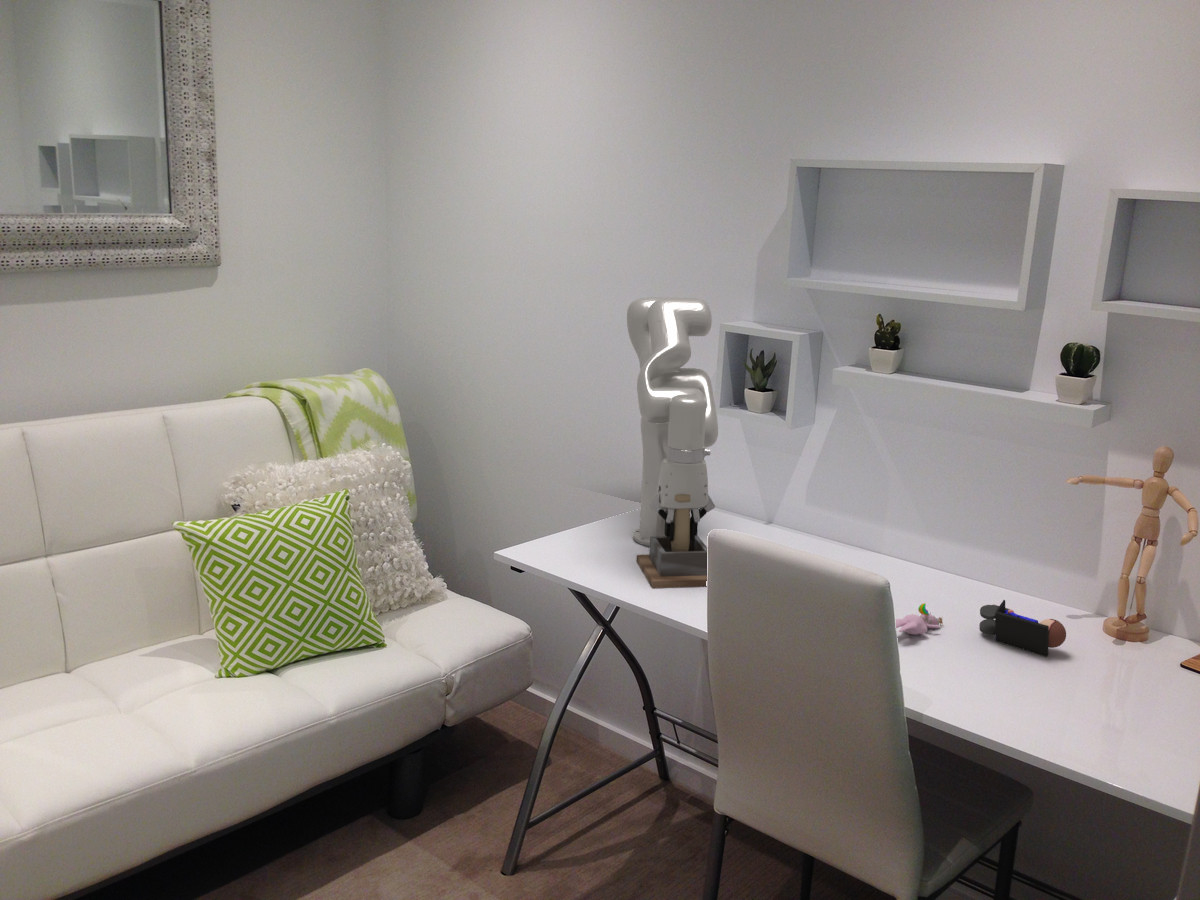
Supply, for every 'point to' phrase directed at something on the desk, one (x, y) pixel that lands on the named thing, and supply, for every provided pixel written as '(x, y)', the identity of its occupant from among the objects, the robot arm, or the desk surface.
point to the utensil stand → (674, 564)
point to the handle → (681, 526)
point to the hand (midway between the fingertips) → (680, 538)
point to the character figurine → (1021, 629)
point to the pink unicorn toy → (918, 622)
